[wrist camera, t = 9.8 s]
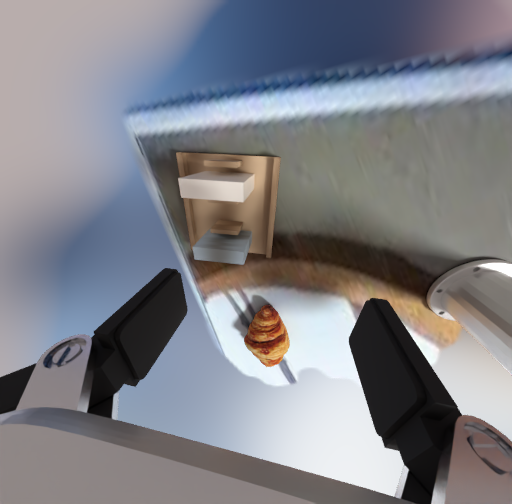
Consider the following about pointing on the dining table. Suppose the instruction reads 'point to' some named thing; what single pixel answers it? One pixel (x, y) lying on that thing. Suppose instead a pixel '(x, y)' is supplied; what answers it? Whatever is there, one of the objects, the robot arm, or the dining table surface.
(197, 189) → the low beige gift box
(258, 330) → the croissant
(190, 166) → the dish rack
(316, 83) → the dining table surface
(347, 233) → the dining table surface
